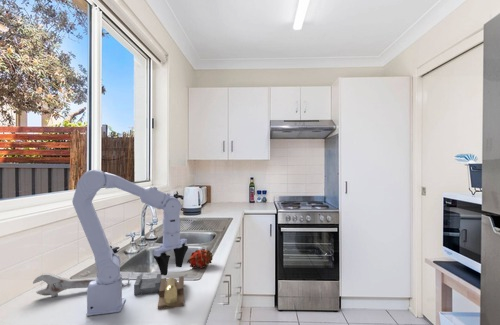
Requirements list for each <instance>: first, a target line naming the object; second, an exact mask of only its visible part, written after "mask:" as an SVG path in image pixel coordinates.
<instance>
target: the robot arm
mask: <svg viewBox="0 0 500 325" xmlns="http://www.w3.org/2000/svg"><path fill="white" fill-rule="evenodd" d="M104 186H105V187H104ZM103 187H104V188H105V189H107V190H108V189H115V188H116V189H118V190H121V191H124V192H127V193H129V194H132V195H134V196H136V197H139V198H140V201H141V203H143V204H145V205H148V206H150V207H152V208H154V209H157V210H162V211H163V218H162V244H161V245H160V246H159V247H157V248H155V249H154V250H153V259H154V260H155V262H156V263H157V265H158V269H159V272H160V273H159V274H161V275H162V276H167V275H168V268H169V261H170V258H171V255H169V254H167V253H168V252H171V251H172V250H173V253H174V260H175V261H174V262H175V263H174V264H175V267H177V268H182V266H183V263H184V260H185V255H186V254H187V252H188V250H189V246H188V239H187V238H181V218H180V211H181V210H182V204H181V201H180V200H179V199H178V198H176V197H174V196H173V195H171V194H170V193H168V192H166V193H165V192H163V191H161V190H158V187H156V186H153V187H151V186H147V187H142V186H140V185H138V184H136V183H133V182H132V181H129V180H127V179H126V178H123V177H122V176H119V175H117V174H113V173H110V172H106V171H105V172H104V171H103V170H100V169H97V168H96V169H92V170H87V171H85V172H84V173H83V174H82V175H81V177H80V178H79V179H78V180H77V184H76V188H75V190H74V194H73V197H72V205H73V208H74V211H75V213H76V215H77V217H78V220H79V223H80V225H81V227H82V230H83V232H84V234H85V236H86V239H87V242H88V244H89V246H90V248H91V249H90V250H91V252H92V254H93V256H94V264H95V266H96V278H97V280H94V281H91V282H90V283H89V285H88V288H87V289H86V290H87V292H86V316H87V317H88V316H89V317H90V316H96V315H105V314H111V313H114V314H115V313H119V312H121V311H122V309H123V306H124V304H125V301H126V298H125V297H123V286H122V283H123V280H122V277H123V276H122V274H121V269H120V268H121V267H120V266H121V259H120V257H119V256H118V255H117V254H115V252H114V250H113V249H112V246H111V245H110V243H109V241H108V238H107V235H106V233H105V231H104V229H103V228H104V227H103V226H102V224H101V221H100V219H99V217H98V213H97V211H96V208H95V206H94V204H93V200H94V199H95V197H96V195H97V193H98V192H100V190H101V189H102V188H103Z"/></svg>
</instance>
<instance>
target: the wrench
mask: <svg viewBox="0 0 500 325" xmlns="http://www.w3.org/2000/svg"><path fill="white" fill-rule="evenodd" d="M94 280H97V277H92V278H91V277H90V278H88V277H87V278H73V279H72V278H71V279H70V278H66V277H61V276H59V275H56V274H53V273H51V272H45V273H42V274H39V275H37V277H36V278H35V279H34V280H33V282H32V284H33V285H34V284H36V283H40V282H42V281H43V282H44V283H45V284H47V285H46V287H44V288H41V289H38V290H37V291H36V292H35V293H36V294H37V295H40V296H45V297H46V296H51V298H54V297H58V296H59V293H61V292H63V291H66V290H70V289H85V288H86V289H88V285H89V283H90V282H91V281H94ZM124 280H127V282H126V283H124V282H122V287H124V286H128V285H129V284H130V278H129V277H128V276H122V281H124Z"/></svg>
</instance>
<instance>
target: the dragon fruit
mask: <svg viewBox="0 0 500 325" xmlns="http://www.w3.org/2000/svg"><path fill="white" fill-rule="evenodd" d="M213 256H214V254H213V253H212V252H211V251H210V250H209V249H208V250H207V249H204V248H203V247H202V248H201V249H196V250H195V251H194V252H192V253H191V254H190V257H189V258H188V259H187V261H186V264H189V267H190V268H193V269H194V268H195V267H198V268H200V269H201V268H202V269H204V268H206V267H207V266H208V265H209V264H212V261H213ZM195 269H196V268H195Z"/></svg>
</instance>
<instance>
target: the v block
mask: <svg viewBox="0 0 500 325" xmlns="http://www.w3.org/2000/svg"><path fill="white" fill-rule="evenodd" d="M162 276H163V275H161V273H157V274H156V277H154V278H152V277H151V278H144V279H143V275H137V277H136V279H135V282H134V284H133V296H139V295H148V294H155V293H158V294H159V289H160V284H161V279H162Z"/></svg>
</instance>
